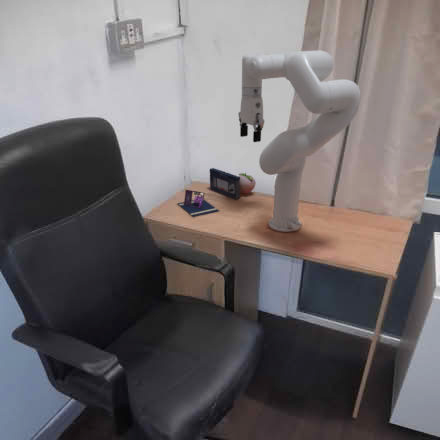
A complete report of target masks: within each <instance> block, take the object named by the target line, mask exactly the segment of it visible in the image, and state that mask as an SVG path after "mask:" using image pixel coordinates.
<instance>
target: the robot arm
mask: <svg viewBox="0 0 440 440" xmlns="http://www.w3.org/2000/svg"><path fill="white" fill-rule="evenodd" d="M241 60H242V61H241V99H240V111H238V113H237V114H238V121H239V126H240V130H239V131H240V132H239V133H240V135H239V136H240V137H241V138H242V137H243V138H245V137H248V136H249V135H248V134H249V125H250V126H252V128H253V133H252V135H253V136H252V142H253V143H259V142H261V141H262V131H263V128H264V125H265V119H264V103H263V102H264V101H263V96H262V92H263V90H262V89H263V80H268V79H280V78H285V80H287V81H289V82H290V83H289V84H291V86H292V88H293V89H294V91H295V93H296V95H297V96H298V98H299V99H300V100H301V103H302V105H303V106H304V107H305V108H306V109H307V111H308V112H310V113H312V114H315V115H317V116H316V117H314V118H313V119H312V120H311V121H310V122H309V123H307V124H306V125H304V126H302V127H297V128H293V129H288V130H287V129H286V130H285V131H282V132H280V133H278V135H276V136H275V138H274V139H272V140H271V141H270V142H269V143H268V144H267V145H266V146H265V147H264V148H263V150H262V151H261V153H260V155H259V158H258V159H259V161H258V163H259V167H260V170H261V171H262V172H263V173H264V174H266V175H269V176H273V175H276V177H275V182H274V194H273V195H274V197H273V211H272V218H270V219H269V220H268V227H269V228H270V229H272V230H274V231H278V232H281V233H287V232H288V233H290V232H295V231H298V230H299V229H300V228H301V227H302V225H303V224H302V223H301V221H300V217H299V205H300V198H301V197H300V196H301V188H302V187H301V185H302V178H303V173H304V169H305V166H306V162H307V157H311V156H313V155H314V154H316V152H318V151H319V150H320V149H322V148H323V147H324V146H325V145H326V144H328V143H329V142H330V141H331V140H332V139H333V138H335V137H336V136H338V135H339V134H340V133H341V132H343V130H345V129H346V128H347V127H348V126H349V125H350V124H351V123H352V121H353V120H354V119H355V117H356V115H357V113H358V111H359V108H360V104H361V90H360V87H359V86H358V84H357V83H355V81H352V80H349V79H345V78H344V79H333V80H326V79H328V78H329V77H330V75H331V74H332V72H333V70H334V59H333V57H332V55H331V54H330V53H329V52H327V51H325V50H321V49H319V50H301V51H299V50H298V51H297V50H296V51H290V52H287V53H271V54H270V53H269V54H268V53H267V54H260V53H245V54H244V55H242V59H241ZM324 80H325V81H324Z"/></svg>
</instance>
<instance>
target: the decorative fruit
mask: <svg viewBox="0 0 440 440" xmlns="http://www.w3.org/2000/svg"><path fill="white" fill-rule="evenodd" d="M238 177H240V193H243V194H245V195H246V194H249V193H251V192H252V191H253V190H254V189H255V187H256V179H255V178H254V177H253V176H252V175H249V174H247V172H245V173H244V172H241V173H240V172H239V174H238Z"/></svg>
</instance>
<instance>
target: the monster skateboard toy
mask: <svg viewBox="0 0 440 440" xmlns="http://www.w3.org/2000/svg"><path fill="white" fill-rule="evenodd" d="M184 192H185V193H184V201H183V202H184V205H185V206H190V207H196V206H191V202H192V200H193V201H194V203H196V204H199V203H200V204H199V207H196V208H201V209H202V208H203V201H204V200H205V192H202V191H197V190H190V189H185V191H184ZM193 194H194V195H195V196H194V199H193ZM202 199H203V200H202ZM201 204H202V207H200V206H201Z"/></svg>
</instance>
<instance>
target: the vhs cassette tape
mask: <svg viewBox="0 0 440 440" xmlns="http://www.w3.org/2000/svg"><path fill="white" fill-rule="evenodd" d="M209 189H210V191H213V192H215V193H218V194H220V195H223V196H225V197H228V198H231V199H233V200H238V199H239V200H240V198H241V192H240V177H239V175H235V174H233V173H230V172H226V171H223V170H220V169H218V168H215V167H211V168H209Z"/></svg>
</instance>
